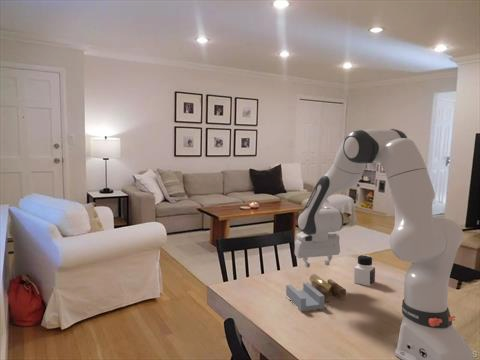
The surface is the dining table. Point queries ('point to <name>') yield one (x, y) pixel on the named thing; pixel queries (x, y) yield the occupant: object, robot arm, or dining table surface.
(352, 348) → the dining table surface
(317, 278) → the axle
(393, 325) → the dining table surface
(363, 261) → the medicine bottle
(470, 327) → the dining table surface
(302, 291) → the cradle
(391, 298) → the dining table surface
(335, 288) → the pair of brown bars
